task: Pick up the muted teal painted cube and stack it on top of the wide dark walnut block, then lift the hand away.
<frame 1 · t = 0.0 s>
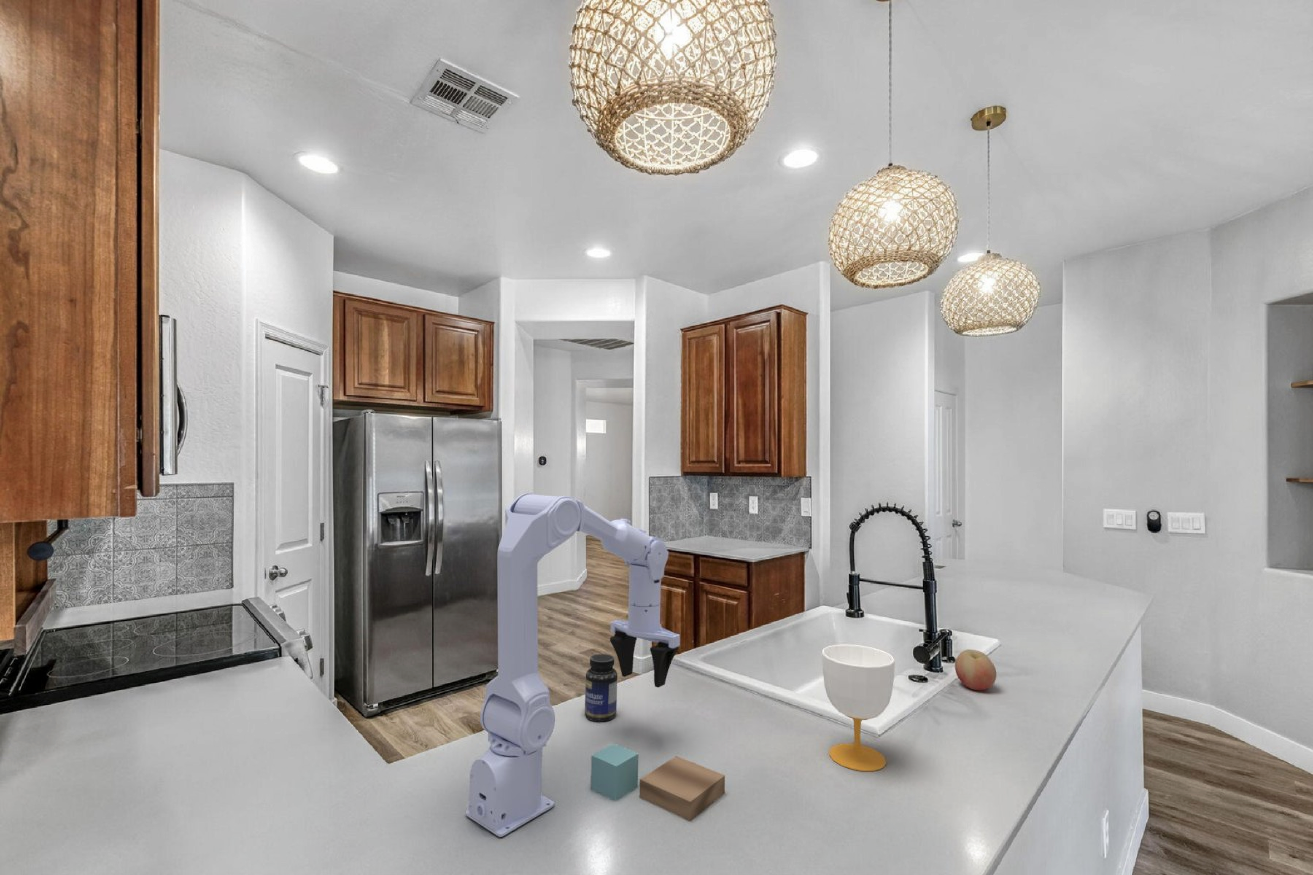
hand: (643, 680, 105), 10 cm above the counter, tool pointing down, fingers open, 7 cm apart
pill bottle: (600, 716, 114), on the counter
teal cube: (614, 788, 89), on the counter
fruit: (975, 688, 132), on the counter
cup: (857, 758, 99), on the counter
walnut block: (682, 797, 87), on the counter
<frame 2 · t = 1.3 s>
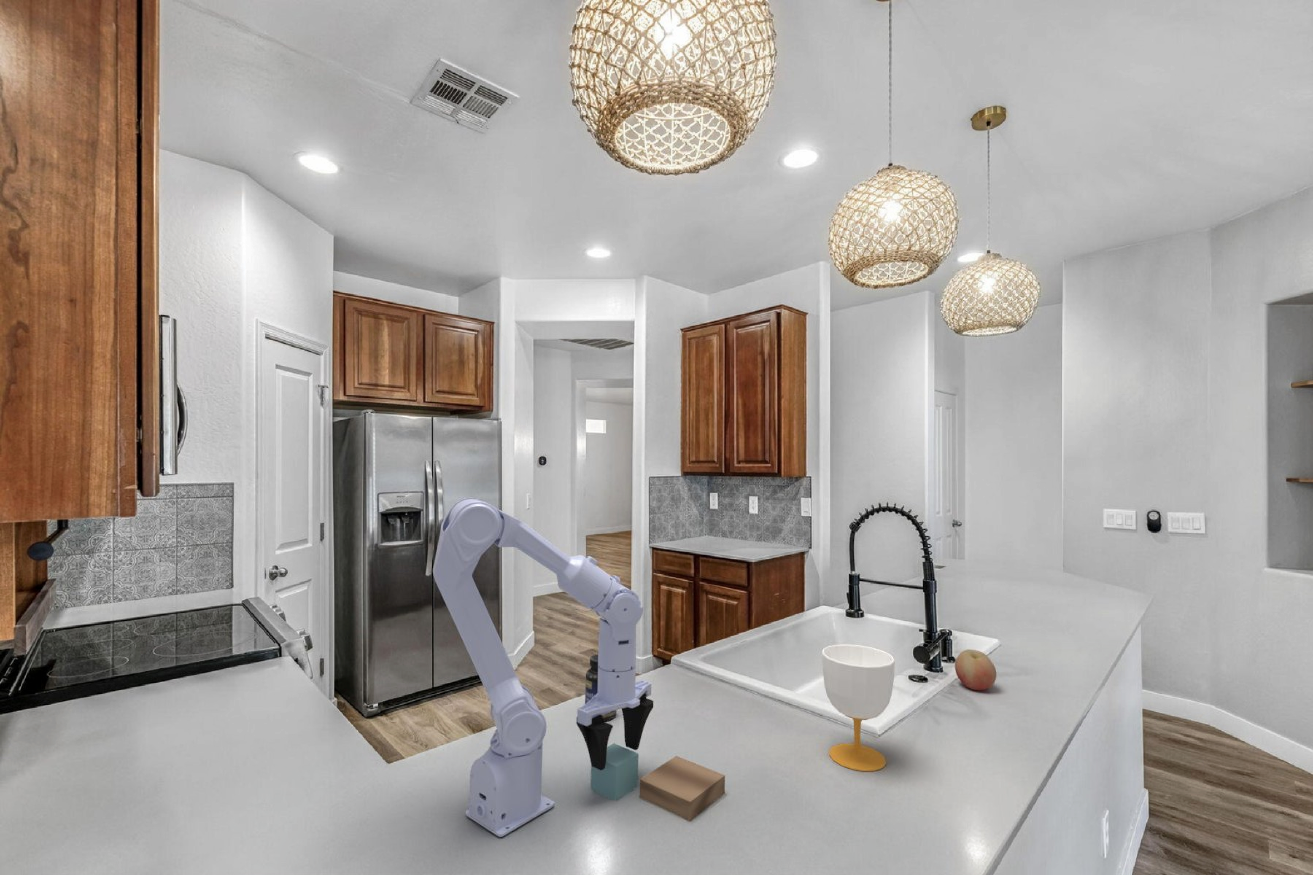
hand: (615, 757, 89), 4 cm above the counter, tool pointing down, fingers open, 7 cm apart
nothing on the counter moved.
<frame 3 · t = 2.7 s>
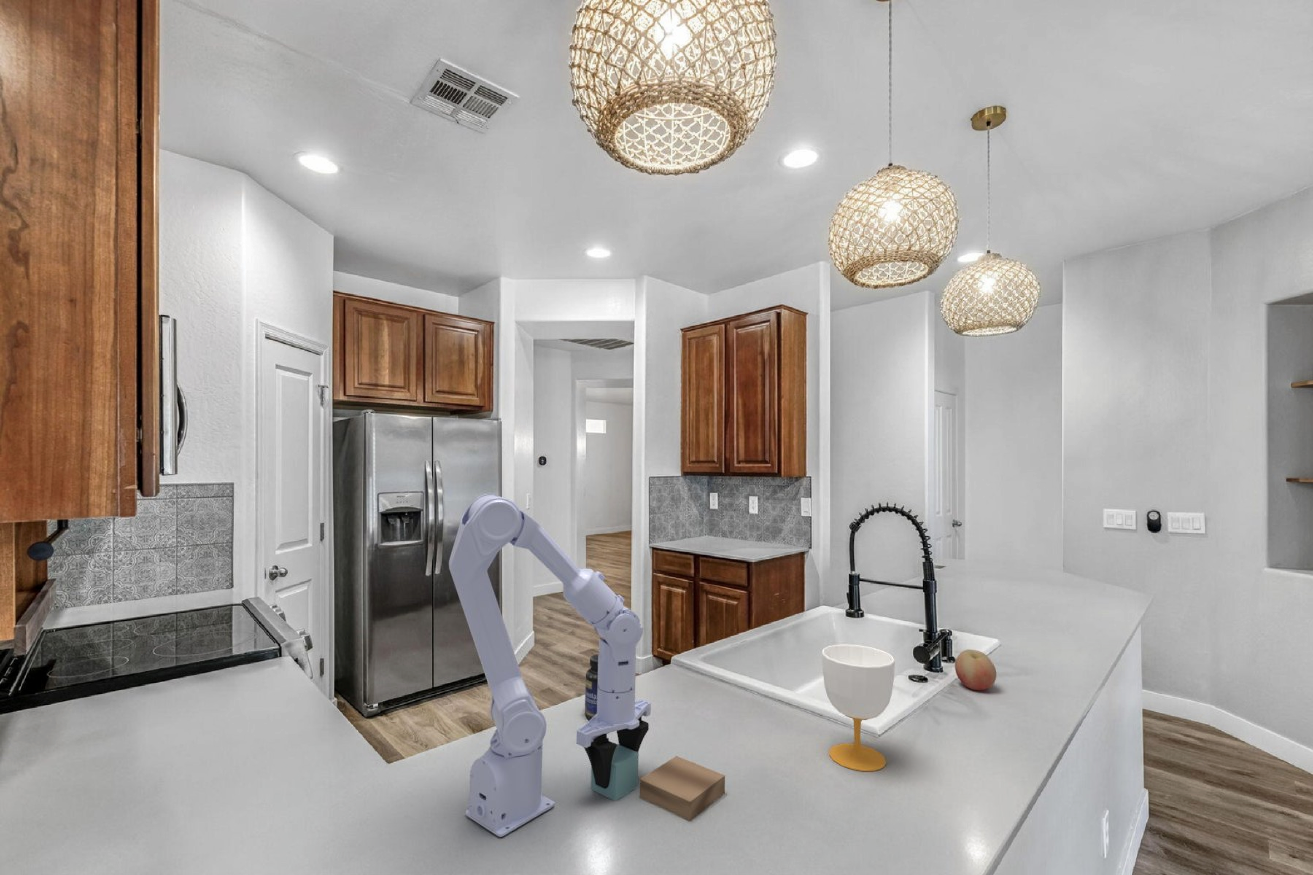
hand: (614, 777, 89), 1 cm above the counter, tool pointing down, fingers closed on teal cube, 5 cm apart
teal cube: (614, 787, 89), on the counter, touching gripper
everything else where it was.
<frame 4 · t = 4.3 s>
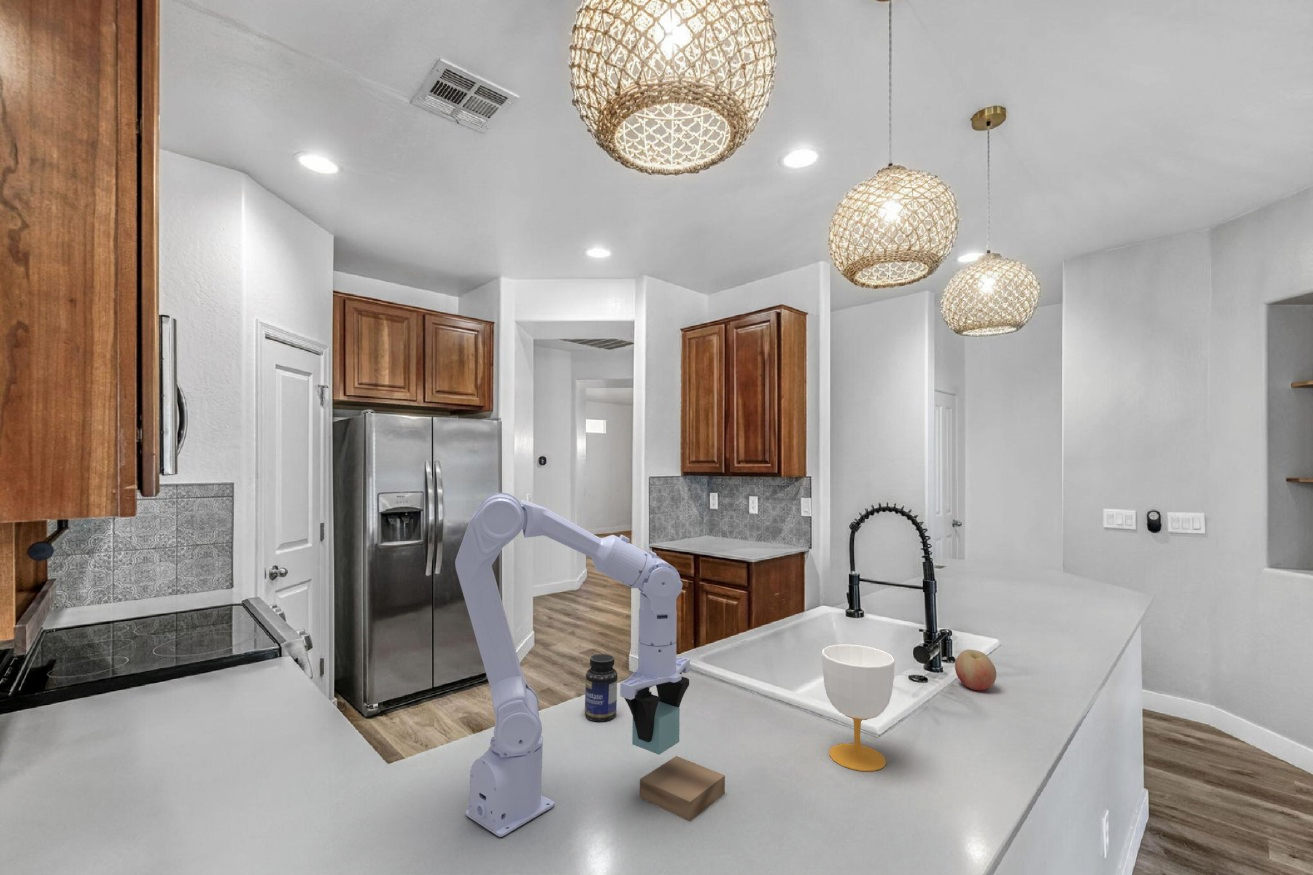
hand: (656, 732, 88), 9 cm above the counter, tool pointing down, fingers closed on teal cube, 5 cm apart
teal cube: (655, 743, 88), point 7 cm above the counter, touching gripper
everything else where it was.
when the fingers open (5 cm above the counter, at t = 6.2 s): teal cube drops 1 cm, resting on walnut block.
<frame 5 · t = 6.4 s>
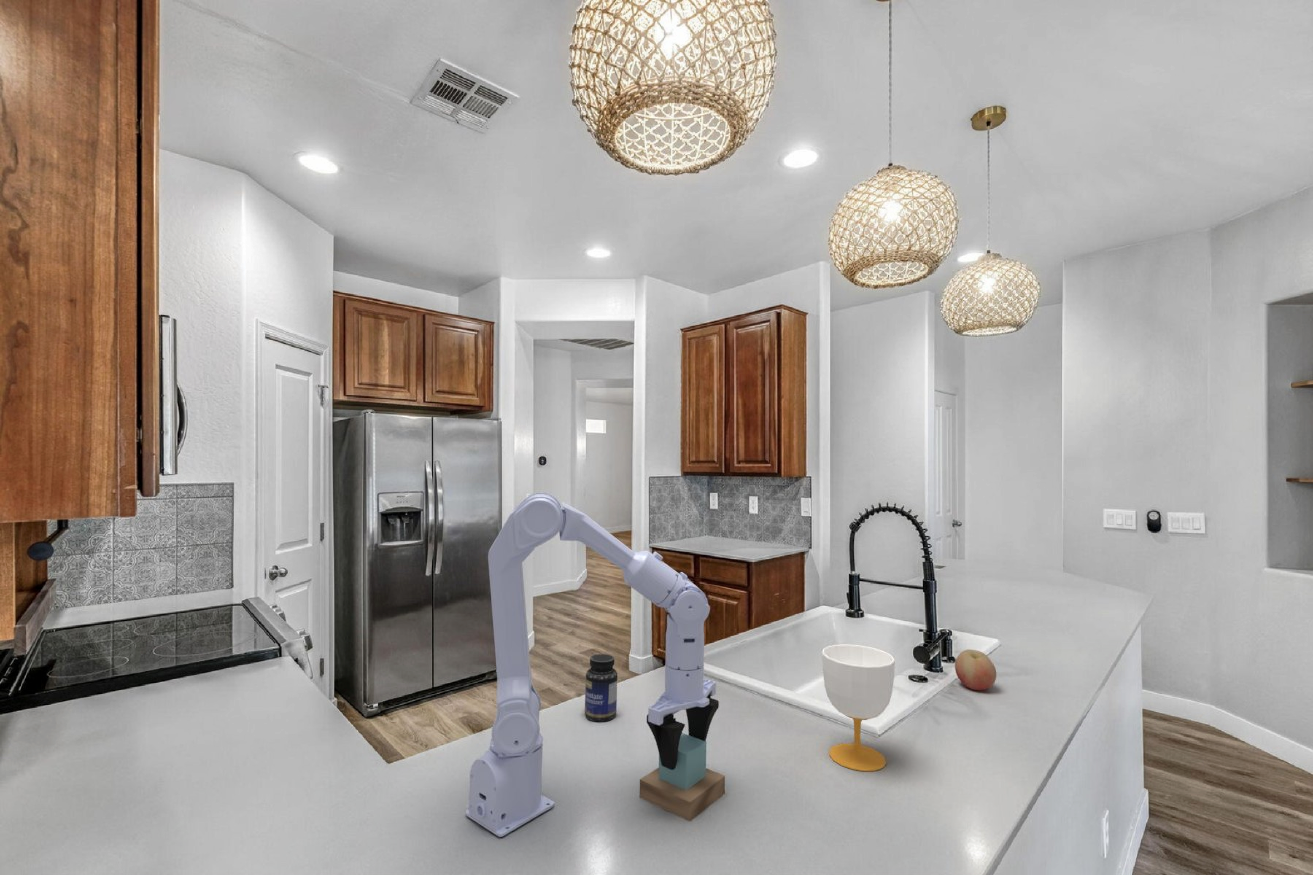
hand: (683, 757, 87), 5 cm above the counter, tool pointing down, fingers open, 7 cm apart
teal cube: (682, 777, 87), point 2 cm above the counter, touching walnut block
walnut block: (682, 798, 87), on the counter, touching teal cube
everything else where it was.
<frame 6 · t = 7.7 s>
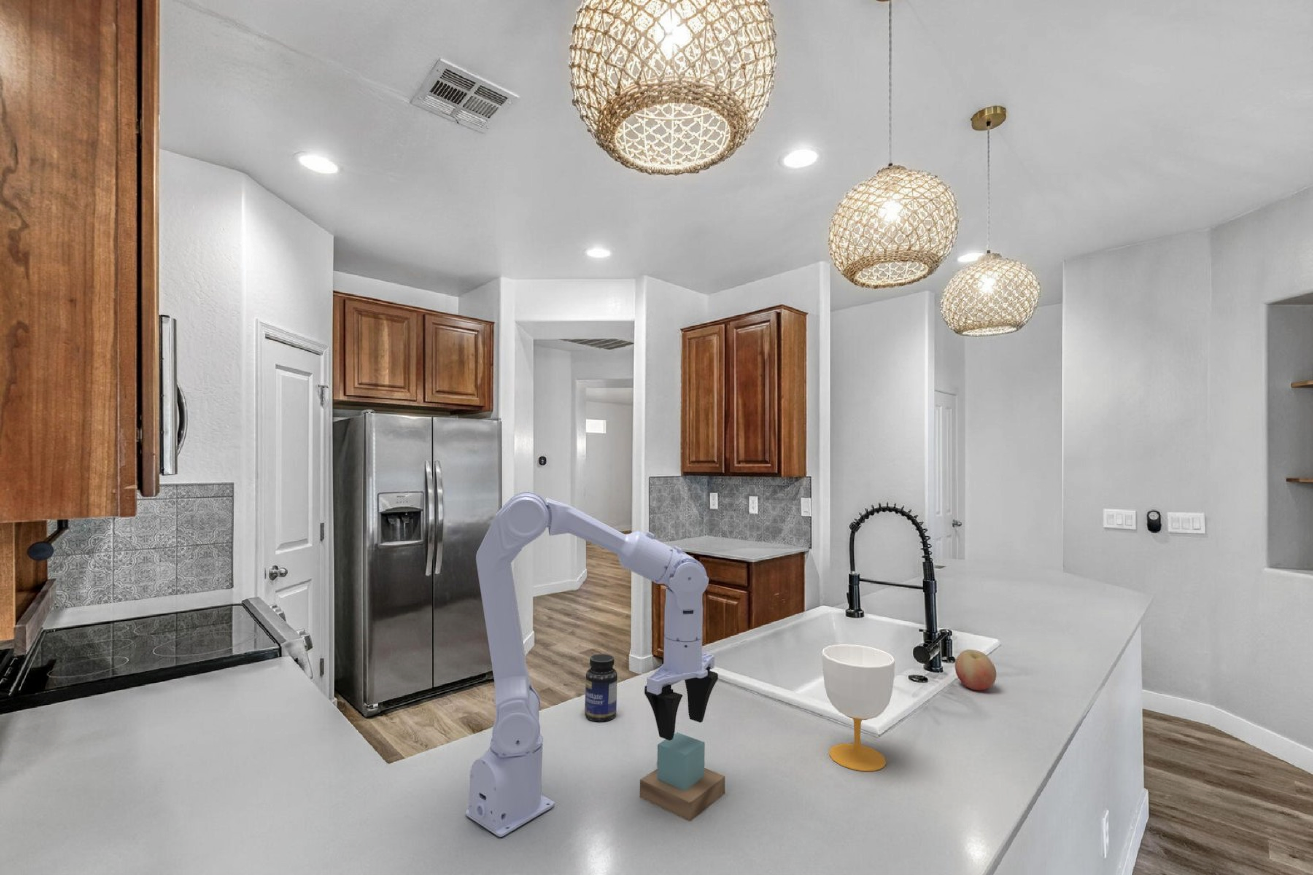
hand: (681, 728, 88), 9 cm above the counter, tool pointing down, fingers open, 7 cm apart
nothing on the counter moved.
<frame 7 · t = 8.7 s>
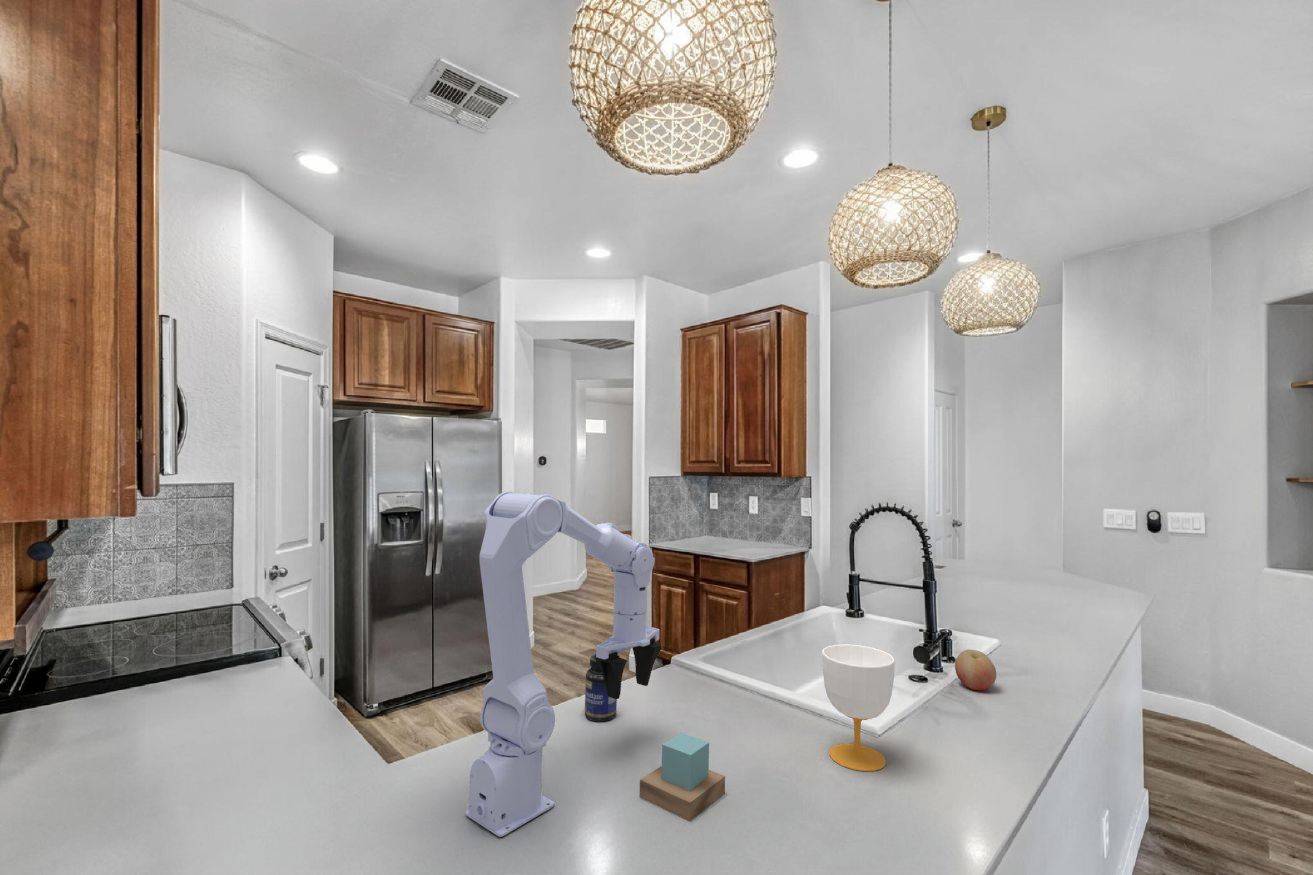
hand: (628, 690, 102), 9 cm above the counter, tool pointing down, fingers open, 7 cm apart
nothing on the counter moved.
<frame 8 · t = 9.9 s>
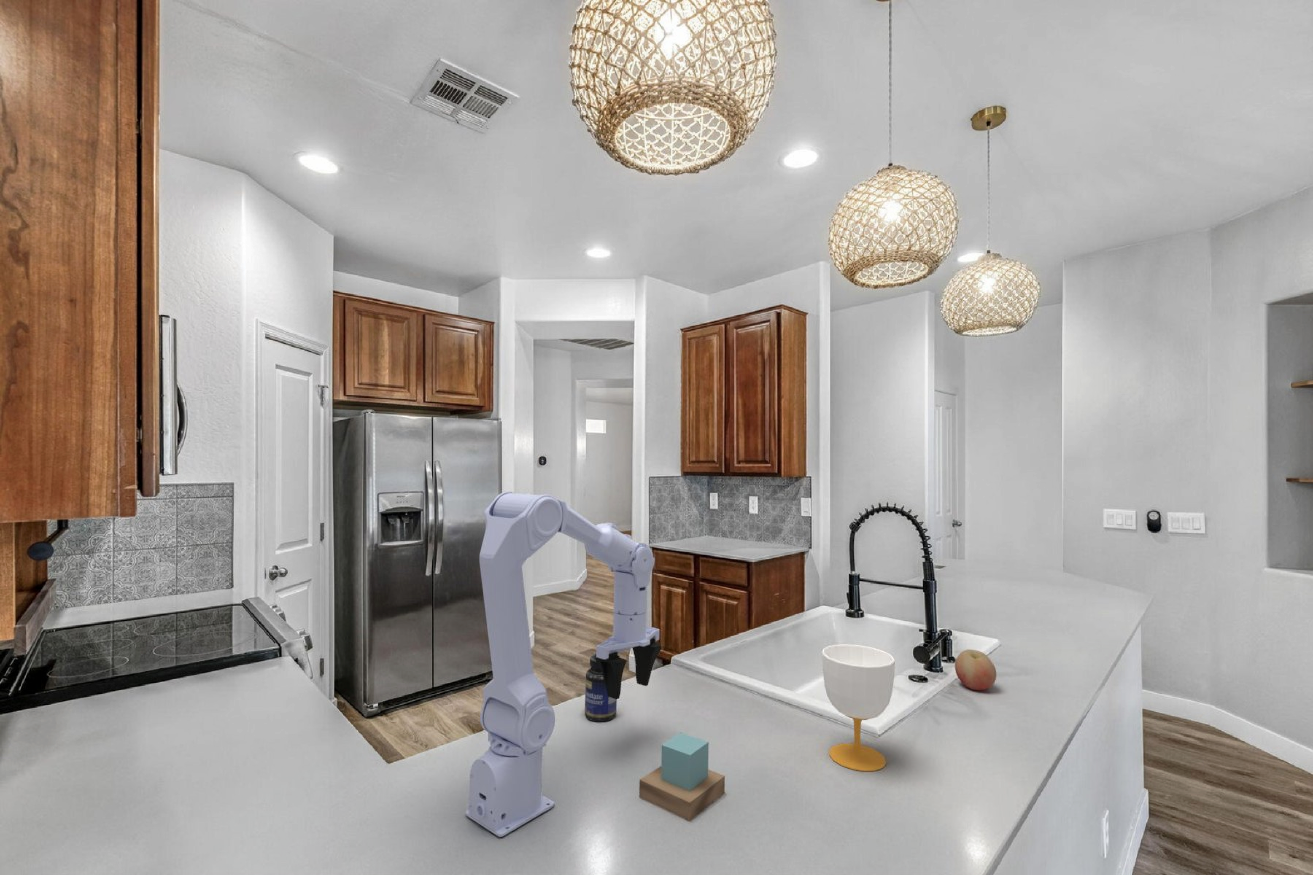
hand: (628, 690, 102), 9 cm above the counter, tool pointing down, fingers open, 7 cm apart
nothing on the counter moved.
at the end: teal cube 0.3 cm off-centre on the walnut block, point 3.0 cm above the walnut block's base; teal cube tilted 0°; the gripper is holding nothing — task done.
